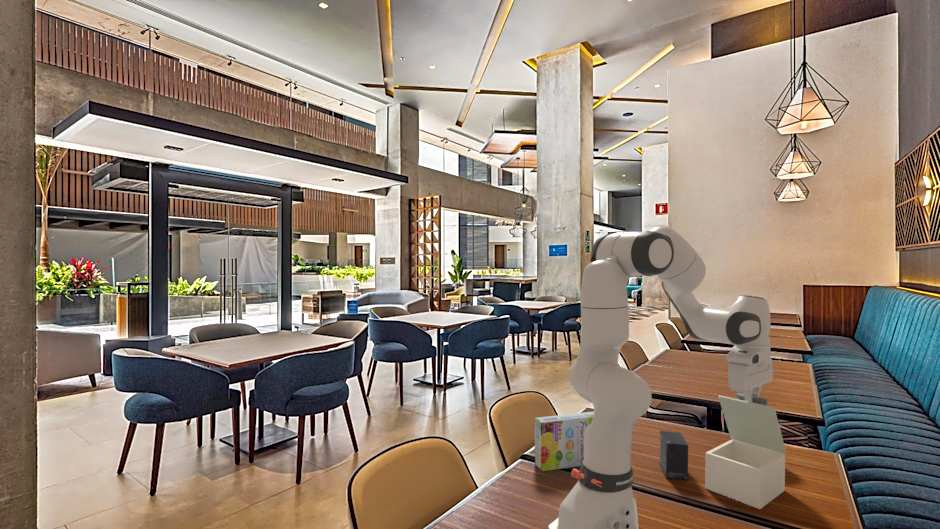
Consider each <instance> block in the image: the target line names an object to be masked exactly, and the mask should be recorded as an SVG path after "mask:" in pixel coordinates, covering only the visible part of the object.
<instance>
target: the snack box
mask: <svg viewBox="0 0 940 529" xmlns="http://www.w3.org/2000/svg"><path fill="white" fill-rule="evenodd" d="M593 416H594V411H587V412H577V413H566V414H560V415H559V414H558V415H549V416H539V417H534V418H533V419H534V420H533V422H534V426H533V427H534V465H535V466H536V467H537V468H538V469H539V470H540V471H541V472H546V471H547V472H548V471H554V470H561V469H562V470H563V469H569V468H578V467H581V465H582V462H583V460H584V430H585V429H586V427H587V426H589V425H590V424H591V423H592V420H593Z"/></svg>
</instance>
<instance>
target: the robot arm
mask: <svg viewBox="0 0 940 529" xmlns="http://www.w3.org/2000/svg"><path fill="white" fill-rule="evenodd" d="M590 252H591V253H590V260H589V261H590V263H588V264H587V265H586V266H585V267H584V269H583V272H582V279H581V287H580V323H581V324H580V325H581V326H580V329H581V330H580V332H581V333H580V344H579V349H578V353H577V357H576V360H575V361H574V362H573V363H572V364H571V366H570V367H569V370H568V383H569V384H570V386H571V388H572V390H574V391H575V393H576V394H577V395H578V396H579V397H580V398H582V399H583V400H585V401H588V402H589V403H590V404H592V405H593V409H594V410H593V412H594V416H593V420H592V423H591V424H590V425H589V426H587V427H586V429H585V430H584V460H583V462H582V465H581V466H580V468H579V469H577V468H576V467H573V469H572V471H571V473H570V475H571V477H572V478H574V479H576V480H577V482H576V483H575V484H574V486H573V487H572V489H571V490H570V491H569V493H567V495H566V497H565V498H564V499H563V500H562V502H561V503H560V504H559V510H558V517H557V518H556V519H554V521H552V522H550V523H549V524H548V526H547V529H640V528H639V518H638V507H637V501H636V498H635V497H636V496H635V495H634V492H633V487H632V486H633V483H634V473H633V472H634V471H633V469H634V468H633V466H632V463H631V461H632V460H631V459H632V457H631V455H632V438H633V437H632V436H633V431H634V428H635V426H636V423H637V421H638V419H639V418H641V417H642V416H644V415H645V414H646V412H648V410H649V408H650V406H651V403H652V389H651V388H650V386H649V384H648V382H647V381H645V380H644V379H643V378H642V377H641V376H639V375H638V374H637V373H636V372H634V371H633V370H630V369H627V368H625V367H623V366H620V365H619V356H620V355H619V354H620V352H621V349H622V346H623V345H625V344H626V343H627V342H628V340H629V337H630V321H629V318H630V316H629V315H630V314H629V300H628V299H629V297H628V296H629V295H628V289H627V287H628V283H629V280H630V278H631V277H654V276H657V277H658V278H659V279H660V280H661V287H662V290H663V291H664V293H665V295H666V296H667V298H668V299H669V301H670V302H671V305H672V306H673V308H674V309H675V310H676V312H677V313H678V314H679V316H680V318H681V320H682V322H683V325H684V328H685V330H686V332H687V334H688V335H689V337H691V338H693V339H695V340H699V341H700V340H701V341H710V342H716V343H720V344H721V343H722V344H728V345H731V346H732V345H733V346H732V348H731V349H730V351H729V352H728V353H727V354H726V361H727V362H728V366H727V379H728V387H729V389H730V390H731V391H734V392H737V393H742V394H744V397H745V401H748V402H754V397H752V396H755V397H760V393H761V390H762V385H765V384H767V383H772V381H773V379H774V368H773V366H774V365H773V359H772V357H771V347H772V346H771V339H770V331H771V327H772V326H771V313H770V312H771V310H770V306H769V302H768V300H767V299H765V298H764V297H760V296H753V295H745V294H744V295H743V294H741V295H738V296H737V297H736V300H735V302H733V304H731V305H730V306H727V307H726V308H725V307H724V308H723V307H716V306H709V305H705V304H702V303H700V302H699V301H698V300H697V299H696V297H695V295H694V293H693V291H695V290H696V289H697V288H698V287H699V286H701V284H702V283H703V281H704V279H705V276H706V272H707V271H706V269H707V267H706V264H705V262H704V260H703V259H702V257H701V256H700V255H699V253H698V252H697V251H696V249H694V248H693V246H692V245H691V244H690V243H689V242H688V241H687V240H686V239H685V238H684V237H683V236H682V235H680V234H679V233H678V232H677V231H676V230H675V229H673V228H671V227H669V226H667V225H660V226H655V227H653V228H651V229H649V230H646V231H637V230H636V231H635V230H624V231H619V232H611V233H606V234H603V235H601V236H600V237H598V238H597V239H596V241H595V242H594V244H593V245H592V248H591V251H590Z"/></svg>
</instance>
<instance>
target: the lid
mask: <svg viewBox="0 0 940 529" xmlns="http://www.w3.org/2000/svg"><path fill="white" fill-rule="evenodd" d="M752 397H754V402H748V401H745V397H744V394H743V393H742V392H737V393H736V394H735V397H730V396H725V395H720V394H719V395H718V396H717V398H718V400H719V404H720V407H721V410H722V411H721V412H722V414H723V417H724V421H725V423H726V427H727V430H728V434H729V436H730V440H731V439H735V440H738V441H742V442H745V443H749V444H752V445H756V446H759V447H762V448H766V449H769V450H773V451H776V452H778V453H781V454H785V455H786V454H787V450H786V447H785V443H784V442H785V441H784V439H783V434H782V431H781V426H780V424H779V420H778V417H777V416H778V415H777V411H776V408H775V406H771V405H768V402H769V401H768V399H767V398H764V397H760V396H759V397H755V396H752Z"/></svg>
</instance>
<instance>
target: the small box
mask: <svg viewBox="0 0 940 529" xmlns="http://www.w3.org/2000/svg"><path fill="white" fill-rule="evenodd" d="M659 434H660V435H659V440H660V441H659V450H660V451H659V466H660V468H661V470H662V472H663V474H664V477H665V478H666V479H674V480H683V481H685V480H686V481H688V479H689V444H688V442H687V441H686V439H685V438H684V436H683V434H682V433H681V432H678V431H667V430H660V431H659Z"/></svg>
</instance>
